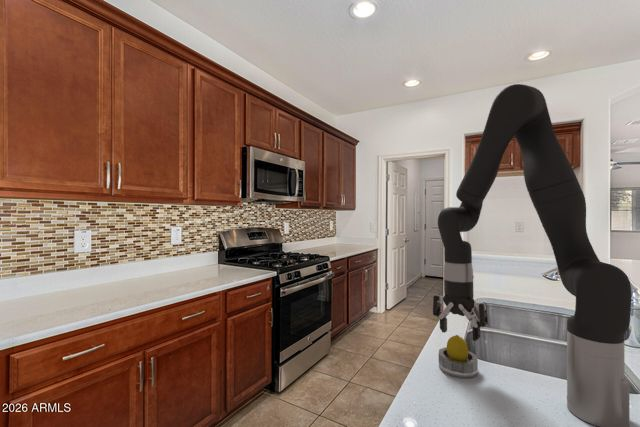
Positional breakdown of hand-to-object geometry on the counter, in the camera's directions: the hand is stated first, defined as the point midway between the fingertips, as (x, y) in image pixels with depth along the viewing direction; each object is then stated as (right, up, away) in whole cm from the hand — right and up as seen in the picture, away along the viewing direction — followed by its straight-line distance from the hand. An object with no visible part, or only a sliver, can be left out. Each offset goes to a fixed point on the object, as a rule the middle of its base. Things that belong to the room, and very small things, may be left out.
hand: (459, 335), depth 86 cm
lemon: (-1, -8, 0) cm, 8 cm away
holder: (-1, -9, 0) cm, 9 cm away
